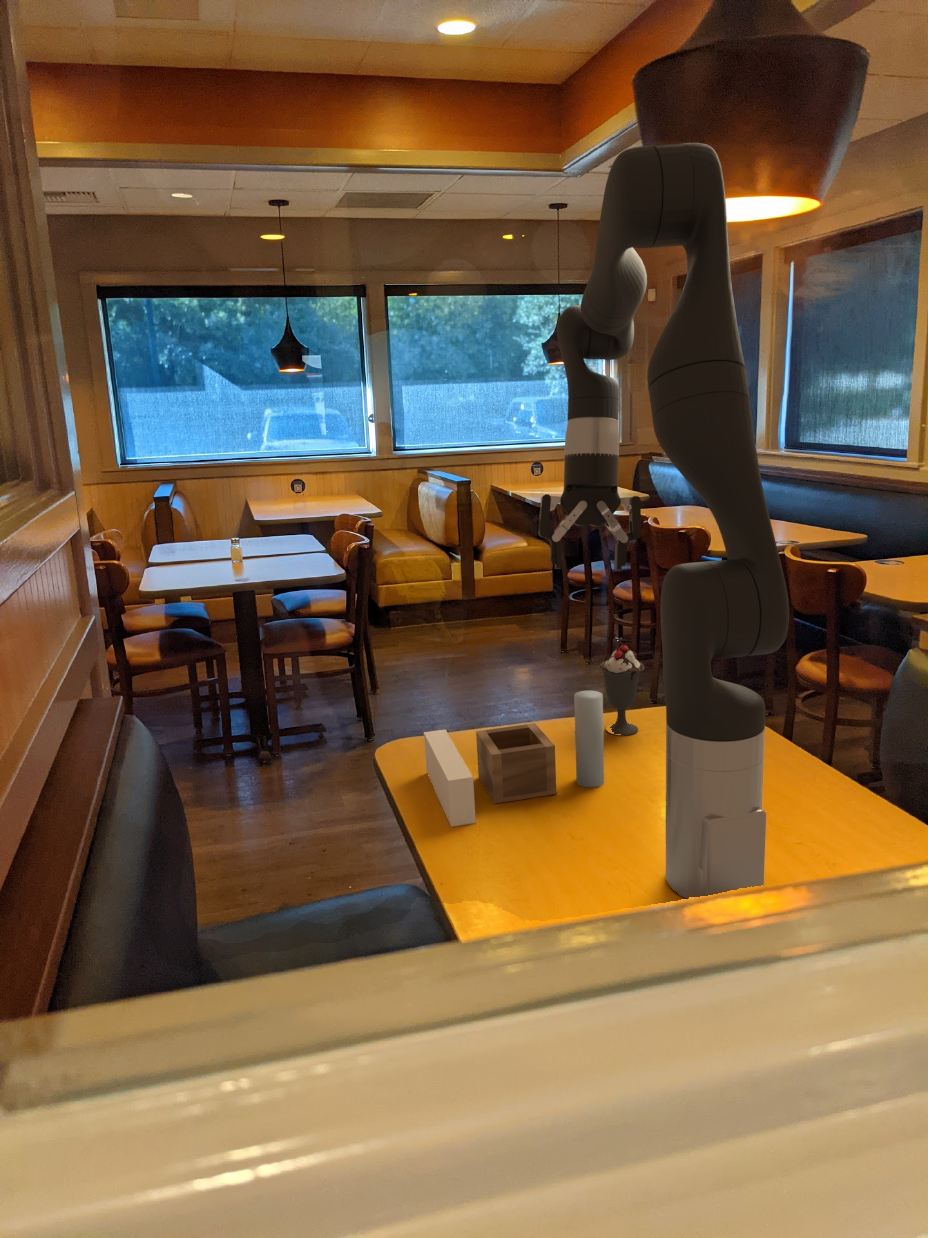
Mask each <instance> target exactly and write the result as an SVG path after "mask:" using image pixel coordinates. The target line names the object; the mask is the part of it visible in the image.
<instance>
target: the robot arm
mask: <svg viewBox="0 0 928 1238" xmlns="http://www.w3.org/2000/svg"><path fill="white" fill-rule="evenodd" d="M725 189H726V188H725V181H724V174H723V170H722V164H721V161H720V158H719V156H718V154H717V151H716V150H715V149H714V148H713V147H712V146H710V145H708V144H706V143H700V142H685V143H684V142H683V143H672V144H669V143H668V144H658V145H655V144H654V145H640V146H634V147H631V148H627V149H625V150H623V151H621V152H620V153H619V154H618V155H617V156H616V157H615V159H614V161H613V162H612V165H611V167H610V170H609V172H608V174H607V179H606V182H605V188H604V193H603V198H602V203H601V204H602V206H601V209H600V210H601V211H600V212H601V213H600V217H599V224H598V229H597V230H598V231H597V238H596V244H595V253H594V262H593V266H592V270H591V273H590V276H589V278H588V281H587V284H586V286H585V289H584V291H583V295H582V296H581V302H580V305H576V304H575V305H571V306H568V307H567V308H566V309H564V310H563V312H562V313H561V314H560V315H559V316H560V317H559V319H558V322H557V325H556V326H557V327H556V336H557V337H556V338H557V342H558V347H559V351H560V355H561V358H562V362H563V367H564V371H565V376H566V384H567V423H566V430H565V438H564V446H563V453H564V462H563V463H564V465H563V467H564V468H563V491H562V494H561V496H557V495H550V494H547V493H546V494H543V495H542V496H541V497H540V507H539V508H540V509H539V519H538V531H537V534H538V536H539V537H541V538H544V539H545V540H546V539H547V540H548V541H549V544H550V552H549V554H550V556H549V557H550V558H549V561H550V564H551V565H554V569H555V570H560V569H562V551H563V550H562V549H563V547H562V546H563V544H562V542H561V539H562V537H564V536H565V535H566V533H567V532H568V531H569V530H570V529H571V527H572V526H573V525H575V526H577V527H586V526H591V527H603V526H605V527H606V528H607V529H608V531H609V532H610V533H611V535H612V536H613V537H614V538H615V540H616V543H614V561H613V562H614V565H613V568H614V570H615V571H622V568H623V567H625V566H626V564H627V555H628V554H627V553H628V544H629V543H630V542H631V541H634V540H637V539H640V538H641V536H642V513H641V512H642V510H641V509H642V508H641V505H642V504H641V498H640V496H639V495H633V496H627V497H621V496H620V494H619V491H618V490H619V489H618V488H619V487H618V485H619V459H620V458H619V457H620V430H619V411H620V409H619V408H620V406H619V405H620V402H619V401H620V385H619V382H618V381H617V379H615V378H613V377H611V376H608V375H604V374H599V373H597V372H596V371H595V372H594V371H592V370H591V369H590V368H589V367H588V365H587V364H586V362H585V360H606V361H614V360H619V359H621V358H624V357H625V356H626V355H627V354H629V352H630V350H631V349H632V347H633V344H634V337H635V324H634V323H635V322H634V317H635V314H636V313H637V310H638V309H639V307H640V305H641V303H642V301H643V299H644V296H645V293H646V290H647V284H648V279H647V278H648V275H647V271H646V267H645V265H644V263H643V260H642V258H641V257H640V256H639V254H638V253H637V251H636V250H635V249H649V248H650V249H652V248H653V249H655V248H667V247H668V248H669V247H679V246H682V248H683V249H684V250H685V255H686V262H687V263H686V265H687V267H686V279H685V282H684V285H683V288H682V291H681V293H680V296H679V299H678V301H677V303H676V305H675V308H674V310H673V311H672V314H671V315H670V316H669V319H668V321H667V323H666V325H665V327H664V329H663V331H661V332H662V333H661V334H660V335H659V339H658V341H657V342H656V345H655V347H654V350H653V352H652V355H651V357H650V359H649V360H650V361H649V364H648V367H647V371H646V372H647V374H646V375H647V377H646V378H647V379H646V380H647V386H648V395H649V402H650V410H651V417H652V425H653V431H654V435H655V438H656V440H657V442H658V444H659V446H660V448H661V450H662V451H663V452H664V454H665V456H667V458H668V460H669V461H670V462H671V464H673V467H675V468H676V470H677V471H678V472H679V473H680V474H681V475H682V476H683V478H684V479H685V480H686V481H687V482H688V483H689V485H690V486H691V487H692V488H693V489H694V491H696V493H697V494H698V495H699V497H700V498H701V499H702V500H703V502H704V503H705V504H706V506H707V508H708V509H709V510H710V513H711V515H712V516H713V518H714V520H715V522H716V524H717V527H718V530H719V532H720V535H721V539H722V542H723V546H724V549H725V554H726V557H727V558H726V559H722V560H721V559H719V560H709V561H698V562H697V561H695V562H687V563H686V562H685V563H680V564H676V565H674V566H672V567H671V568H670V569H669V570H668V571H667V573H666V574H665V576H664V579H663V582H662V586H661V591H660V606H659V607H660V609H659V611H660V630H661V644H662V645H661V646H662V648H661V649H662V673H663V674H662V676H663V677H662V678H663V692H664V700H665V715H666V717H665V718H666V719H665V720H666V721H665V722H666V724H665V729H666V730H665V880H666V879H667V881H666V883H667V882H668V883H667V885H668V884H669V885H670V886H671V887H672V889H674V890H675V891H676V892H677V893H678V894H677V893H676V892H675V891H674V892H675V893H676V894H677V895H679V896H680V897H682V898H684V899H686V898H689V897H700V896H708V895H713V894H718V893H722V892H727V891H730V890H737V889H739V888H747V887H751V886H752V887H754V886H761V885H764V886H765V863H766V862H765V861H766V860H765V858H766V839H767V838H766V837H767V836H766V835H767V833H766V831H767V829H766V828H767V812H766V811H765V810H764V809H763V785H764V762H765V761H764V758H765V736H766V735H765V733H766V703H765V700H764V699H763V697H762V696H761V695H760V694H759V693H758V692H756V691H754V690H753V689H750V688H748V687H746V686H744V685H741V684H737V683H733V682H730V681H726V680H721V679H718V678H716V677H714V676H713V673H712V672H713V671H712V660H720V659H721V660H723V659H732V658H743V657H750V656H759V655H760V656H761V655H767V654H772V653H774V652H776V651H778V650H779V649H780V648H781V647H783V646H782V645H784V643H785V641H786V638H787V636H788V633H789V624H790V607H789V606H790V605H789V595H788V590H787V584H786V578H785V575H784V571H783V567H782V563H781V559H780V554H779V549H778V545H777V542H776V538H775V534H774V530H773V527H772V526H773V525H772V522H771V518H770V517H771V516H770V513H769V509H768V506H767V501H766V497H765V493H764V492H765V491H764V487H763V481H762V476H761V471H760V465H759V459H758V458H759V457H758V451H757V446H756V445H757V444H756V439H755V431H754V423H753V422H754V421H753V413H752V406H751V404H752V403H751V397H750V389H749V384H748V376H747V369H746V364H745V363H746V362H745V359H744V355H743V349H742V343H741V338H740V332H739V327H738V322H737V315H736V314H737V312H736V308H735V301H734V294H733V293H734V292H733V286H732V276H731V275H732V274H731V263H730V261H731V260H730V249H729V235H728V234H729V232H728V218H727V217H728V216H727V215H728V214H727V203H726V193H725V192H726V190H725ZM558 504H560V506H561V508H562V509H563V511H564V512H565V513H566V515H565V516H564V518H563V519H562V520H561V522H560V523H559V524H558V526H557V527H556V528H555V529H554V531H552V530H549V525H550V524H549V523H550V516H551V514H550V513H551V512H552V511H554V510H555V509H556V506H557V505H558ZM621 506H622V507H623V509H624V511H625V512H627V513H628V527H629V528H628V529H629V531H627V532H625V531H624V529H623V528H622V526H621V524H620V523H619V521H618V520H617V518H616V517H615V516H614V514H615V513H616V512H617V510H618V508H619V507H621ZM669 885H668V886H669ZM670 886H669V887H670ZM671 887H670V888H671ZM672 889H671V890H672Z"/></svg>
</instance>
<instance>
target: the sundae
mask: <svg viewBox="0 0 928 1238" xmlns="http://www.w3.org/2000/svg"><path fill="white" fill-rule="evenodd" d="M622 640H623V638H622V637H619V639H618V643H617V647H616V649H615V650H614V651H613V652H612V653H611V655H610V657H609V658H608V659H607V660H605V661H603V662H601V663H600V664H599V666H598V669H600V670H601V671H602V674H603V678H604V685H605V691H606V692H605V693H606V695H607V701H608V702H609V703H610V704H611V705H612V706H613V707H615V708H616V709H617V718H616V721H615V722H614V723H615V724H613V723H612V724H613V725H612V726H611V727H610V728H612V729H611V730H612V732H614V734H621V735H624V736H623V737H626V736H625V735H628V736H632V735H634V734H636V732H637V733H638V731H639V728H638V726H636V725H635V724H633V723H630V724H629V722H628V721H627V717H626V710H627V708H629V707H630V706H632V704H633V703H634V702H635V699H636V696H637V690H638V681H639V675H640V673H642V672H643V671H644V670H645V666H644V663H643V662H640V661H639V660H637V653H636V652H634V651H632V650H631V649H630V648H629V647H628V646H627V645H625V644H623V643H622ZM620 644H621V646H620V647H619V645H620Z"/></svg>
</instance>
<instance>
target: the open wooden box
mask: <svg viewBox="0 0 928 1238" xmlns="http://www.w3.org/2000/svg"><path fill="white" fill-rule="evenodd" d="M475 737H476V751H477V752H476V754H477V756H476V757H477V774H478V775H477V776H478V778H479V780H480V782H481V783H482V785H483V787H484V788H485V790H486V792H487V794H488V795H489V797H490V799H491V801H492V802H493V804H501V803H507V802H513V801H519V800H526V799H531V798H532V799H533V798H538V797H544V796H550V795H556V794H557V773H556V771H557V770H556V766H557V765H556V745H555V744H554V743H553V742H552V741H551V740H550V738H549V737H548V736H547V735H546V734H545V732H543V730H542V729H541V728H540V727H539V726H538V724H537V723H535V722H534V723H533V722H532V723H527V724H525V723H524V724H518V725H512V726H506V727H497V728H491V729H483V730H476V731H475Z"/></svg>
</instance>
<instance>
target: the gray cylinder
mask: <svg viewBox="0 0 928 1238" xmlns="http://www.w3.org/2000/svg"><path fill="white" fill-rule="evenodd" d="M573 699H574V701H573V702H574V703H573V704H574V705H573V706H574V732H575V733H574V739H575V740H574V741H575V746H574V747H575V775H576V776H575V777H576V779H575V780H576V784H577V785H579V786H580V787H583V788H589V789H591V788H592V789H593V788H599V787H601V786H603V785H604V783H605V763H604V762H605V759H604V757H605V754H604V753H605V751H604V750H605V748H604V746H605V745H604V696H603V693H602V692H601V691H600V692H599V691H596V690H581V691H577V692H575V693H574V695H573Z"/></svg>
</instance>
